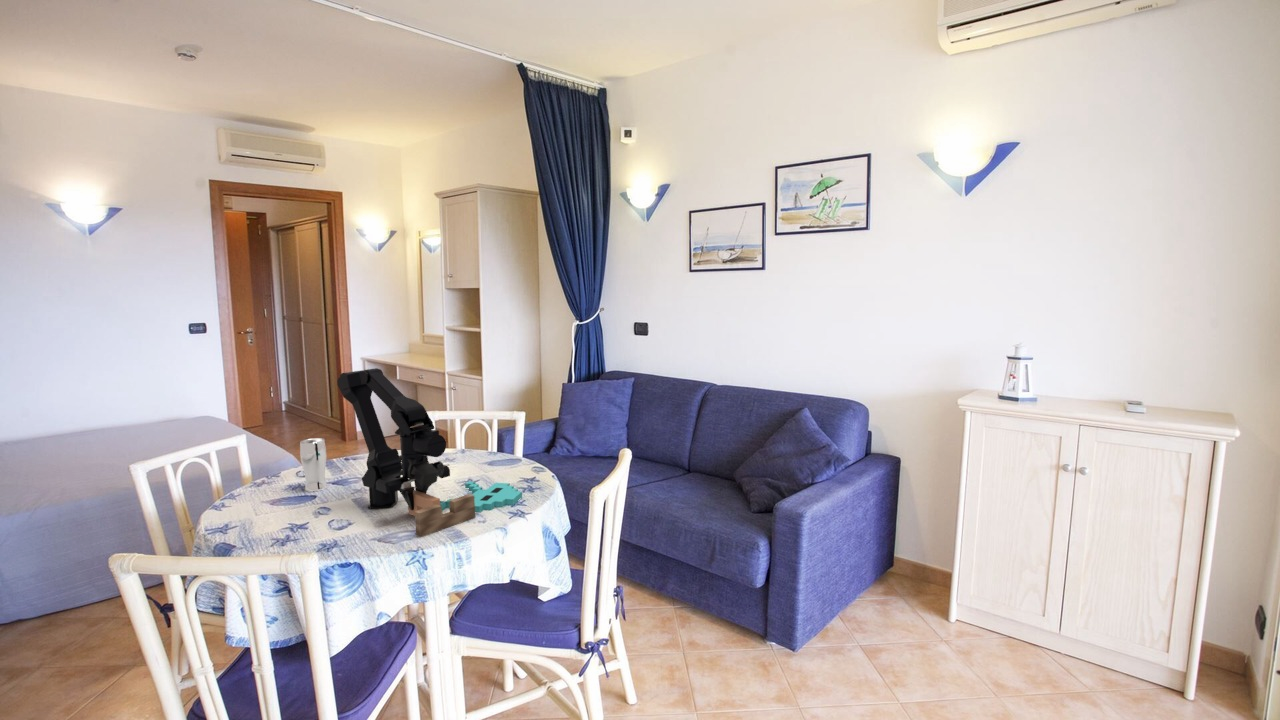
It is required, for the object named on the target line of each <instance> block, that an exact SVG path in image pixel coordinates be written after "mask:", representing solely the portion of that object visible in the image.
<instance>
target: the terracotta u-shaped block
mask: <svg viewBox="0 0 1280 720" xmlns="http://www.w3.org/2000/svg"><path fill="white" fill-rule="evenodd" d="M413 500H414V510H410V508H409V506H408V514H409V515H410V516H411V515H412V516H414V517H415V511H418V510H421V509H424V508H427V507H430V506H433V505H440V501H441V499H440V498H439V497H436V496H433V495H431V494H427V493H426V494H425V493H422V492H419V491H416V490H415V489H414V491H413Z"/></svg>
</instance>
